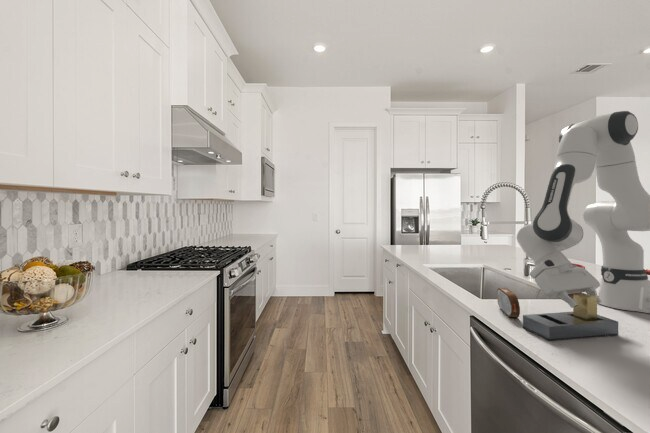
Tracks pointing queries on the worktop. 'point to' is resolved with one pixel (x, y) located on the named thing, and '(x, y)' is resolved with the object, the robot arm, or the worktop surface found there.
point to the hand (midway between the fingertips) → (587, 304)
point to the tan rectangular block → (585, 307)
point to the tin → (508, 302)
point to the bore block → (568, 326)
